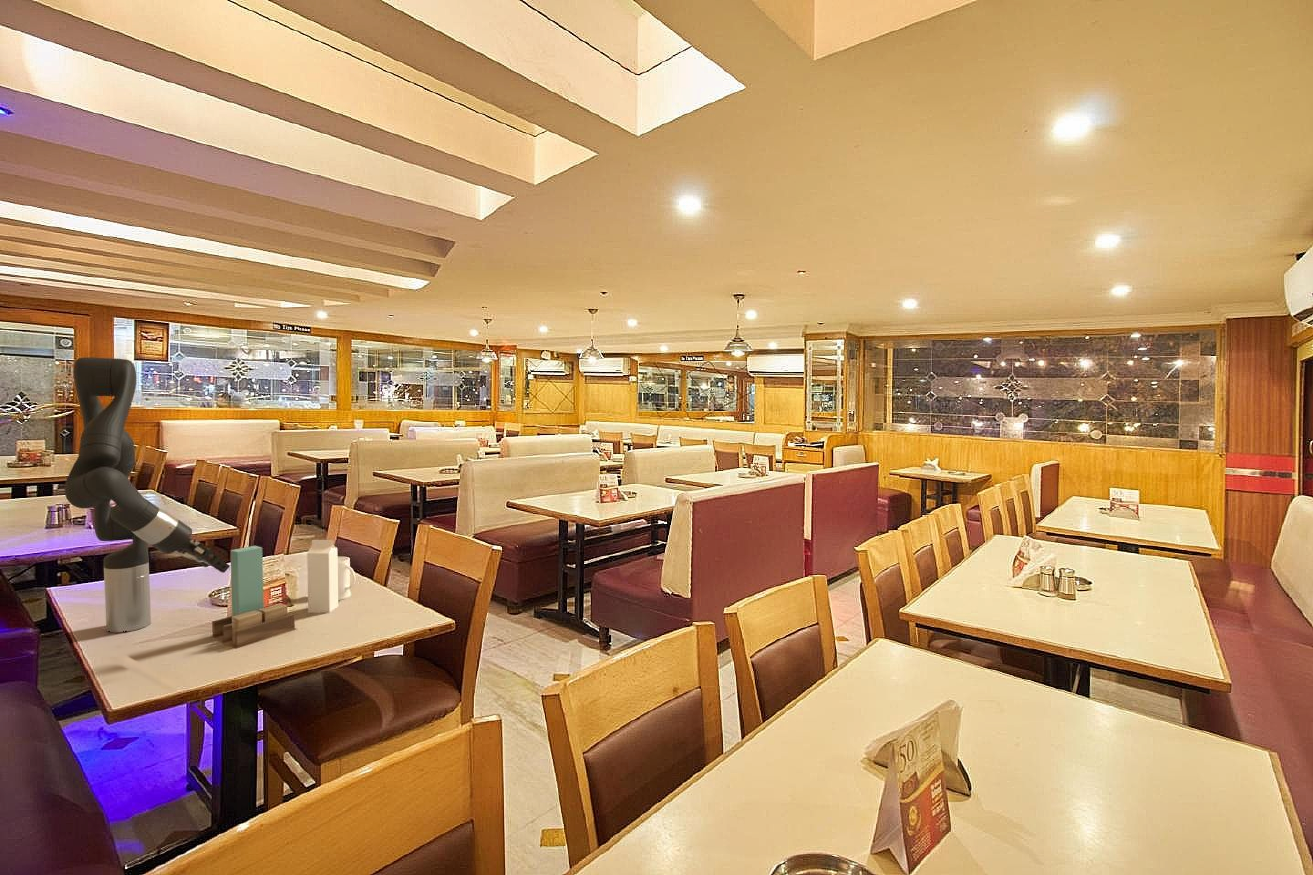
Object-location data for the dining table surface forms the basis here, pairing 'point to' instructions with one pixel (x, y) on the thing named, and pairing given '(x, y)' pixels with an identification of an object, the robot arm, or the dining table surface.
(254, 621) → the offcut
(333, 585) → the milk
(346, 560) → the mug
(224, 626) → the rack
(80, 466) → the robot arm
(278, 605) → the offcut
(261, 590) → the teal rectangular block
